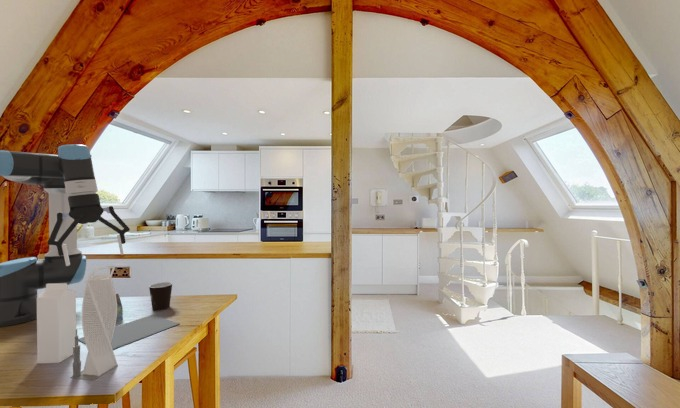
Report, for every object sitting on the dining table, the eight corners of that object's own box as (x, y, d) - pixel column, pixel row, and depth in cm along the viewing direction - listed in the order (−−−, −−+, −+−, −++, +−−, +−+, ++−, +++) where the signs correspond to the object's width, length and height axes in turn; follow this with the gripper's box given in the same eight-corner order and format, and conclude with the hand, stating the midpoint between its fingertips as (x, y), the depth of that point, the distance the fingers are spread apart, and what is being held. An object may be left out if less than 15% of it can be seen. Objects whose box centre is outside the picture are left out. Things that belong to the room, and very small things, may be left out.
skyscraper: (101, 361, 85) (100, 265, 85) (125, 363, 84) (124, 266, 84) (70, 378, 77) (69, 272, 77) (97, 381, 76) (95, 273, 76)
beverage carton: (96, 326, 110) (96, 308, 110) (95, 311, 124) (95, 296, 124) (123, 320, 115) (123, 303, 115) (119, 307, 129) (119, 292, 129)
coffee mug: (169, 310, 125) (169, 286, 125) (146, 312, 122) (145, 288, 122) (176, 301, 136) (176, 279, 136) (155, 303, 134) (155, 281, 134)
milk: (56, 353, 90) (55, 280, 90) (77, 352, 90) (76, 280, 90) (36, 364, 84) (35, 286, 84) (59, 363, 84) (58, 286, 84)
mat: (77, 340, 98) (77, 339, 98) (152, 315, 119) (152, 314, 119) (103, 353, 89) (103, 352, 89) (179, 324, 111) (179, 323, 111)
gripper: (24, 199, 83) (40, 272, 85) (131, 189, 98) (143, 250, 100) (29, 200, 89) (44, 268, 91) (129, 189, 104) (140, 248, 106)
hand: (96, 259), depth 96 cm, fingers open, 13 cm apart
